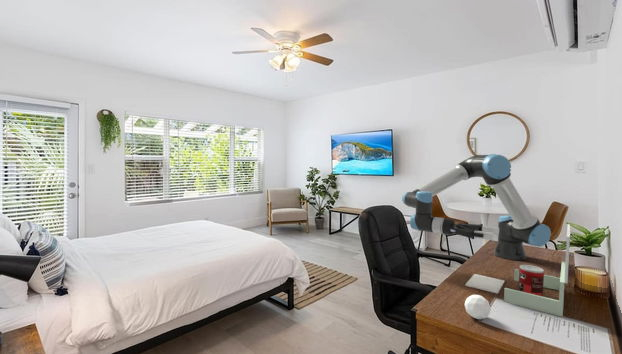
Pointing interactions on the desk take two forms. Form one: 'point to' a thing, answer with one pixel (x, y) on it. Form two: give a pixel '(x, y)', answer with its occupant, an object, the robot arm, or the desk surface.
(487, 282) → the tile pad
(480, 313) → the ball
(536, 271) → the canned food
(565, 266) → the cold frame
